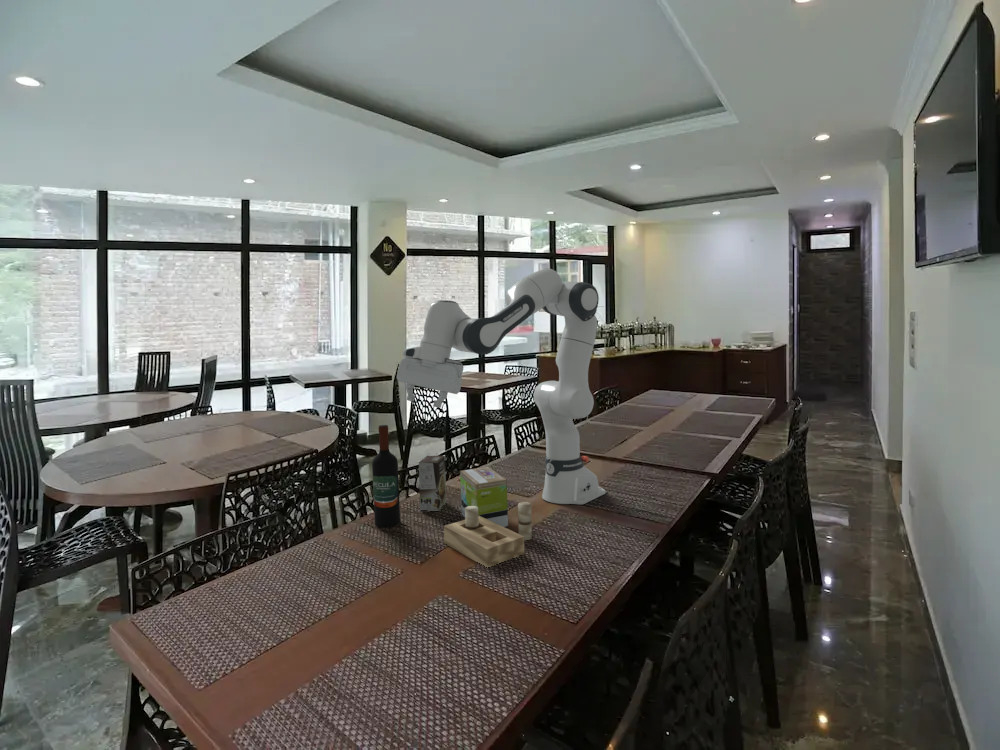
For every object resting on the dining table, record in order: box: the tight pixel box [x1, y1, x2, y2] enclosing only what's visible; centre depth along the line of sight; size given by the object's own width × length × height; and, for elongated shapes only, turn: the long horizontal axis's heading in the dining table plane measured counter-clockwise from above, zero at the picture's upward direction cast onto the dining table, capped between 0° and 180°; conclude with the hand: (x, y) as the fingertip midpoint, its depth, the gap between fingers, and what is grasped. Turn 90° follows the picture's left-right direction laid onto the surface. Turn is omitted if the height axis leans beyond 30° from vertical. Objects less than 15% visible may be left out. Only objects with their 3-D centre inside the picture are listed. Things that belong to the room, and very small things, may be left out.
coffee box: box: [418, 455, 447, 512], centre depth 189 cm, size 9×6×16 cm
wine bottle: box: [371, 424, 401, 529], centre depth 175 cm, size 8×8×30 cm
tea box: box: [459, 466, 509, 528], centre depth 176 cm, size 15×10×15 cm
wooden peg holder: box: [443, 506, 525, 569], centre depth 156 cm, size 12×20×10 cm, turn 38°
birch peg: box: [517, 501, 533, 541], centre depth 162 cm, size 4×4×10 cm
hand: (423, 404), depth 164 cm, fingers open, 8 cm apart
